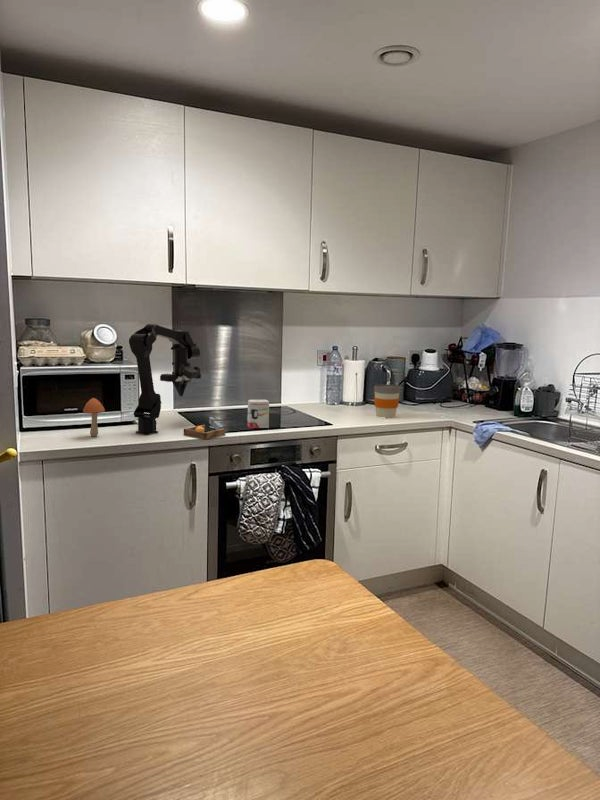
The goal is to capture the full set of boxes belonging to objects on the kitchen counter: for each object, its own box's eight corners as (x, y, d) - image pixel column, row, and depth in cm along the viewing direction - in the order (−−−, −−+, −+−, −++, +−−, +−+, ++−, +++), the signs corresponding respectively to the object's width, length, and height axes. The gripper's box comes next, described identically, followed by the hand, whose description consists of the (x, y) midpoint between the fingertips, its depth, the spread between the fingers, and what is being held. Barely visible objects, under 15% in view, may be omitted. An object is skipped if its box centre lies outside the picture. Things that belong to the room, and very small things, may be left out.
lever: (217, 433, 229) (217, 425, 229) (207, 423, 249) (207, 416, 248) (224, 432, 230) (224, 425, 230) (214, 422, 249) (214, 415, 249)
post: (214, 428, 239) (214, 422, 239) (207, 427, 242) (207, 421, 241) (221, 427, 243) (221, 421, 242) (214, 425, 245) (214, 420, 245)
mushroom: (98, 433, 226) (97, 395, 223) (109, 436, 221) (108, 397, 218) (79, 436, 219) (78, 397, 217) (90, 439, 214) (89, 400, 212)
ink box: (249, 429, 240) (249, 401, 238) (247, 426, 245) (247, 399, 243) (269, 428, 243) (269, 401, 241) (266, 426, 247) (267, 399, 245)
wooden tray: (205, 439, 219) (205, 433, 219) (183, 435, 226) (183, 428, 226) (225, 435, 228) (225, 428, 228) (203, 430, 235) (203, 424, 234)
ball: (202, 436, 224) (197, 429, 223) (196, 437, 227) (191, 430, 225) (207, 431, 227) (203, 424, 226) (201, 432, 229) (197, 424, 228)
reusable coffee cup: (367, 415, 280) (369, 384, 278) (389, 413, 286) (390, 384, 283) (381, 419, 269) (383, 388, 267) (403, 418, 274) (405, 387, 272)
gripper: (177, 362, 232) (177, 400, 234) (209, 360, 247) (209, 395, 249) (158, 360, 238) (159, 397, 240) (191, 358, 253) (191, 393, 255)
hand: (181, 396), depth 246 cm, fingers closed
